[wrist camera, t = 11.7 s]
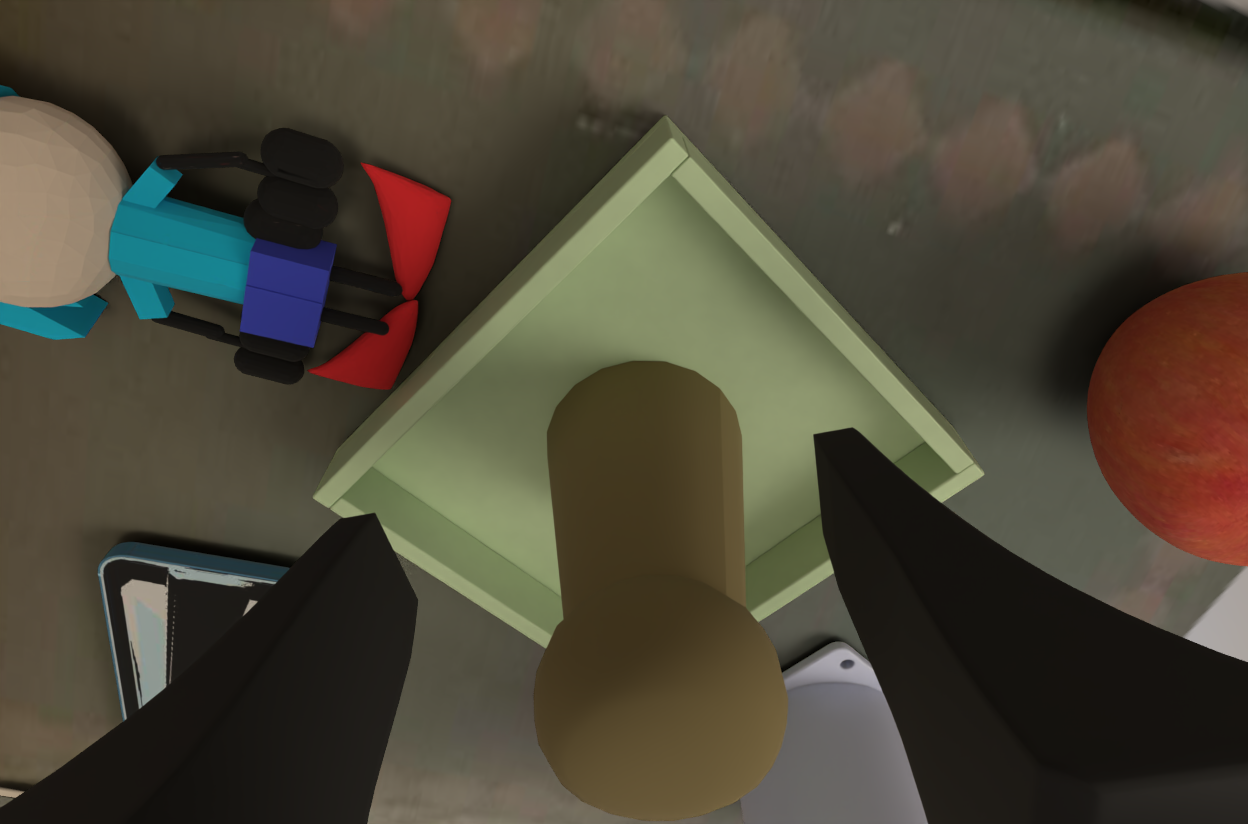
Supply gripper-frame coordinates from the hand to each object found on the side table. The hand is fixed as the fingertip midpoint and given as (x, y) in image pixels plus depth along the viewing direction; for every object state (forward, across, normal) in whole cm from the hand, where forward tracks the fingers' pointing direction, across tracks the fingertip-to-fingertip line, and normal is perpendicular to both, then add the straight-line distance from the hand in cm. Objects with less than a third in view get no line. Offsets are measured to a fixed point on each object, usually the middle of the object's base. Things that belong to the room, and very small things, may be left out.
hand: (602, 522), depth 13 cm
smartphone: (+10, +18, +14) cm, 25 cm away
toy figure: (+11, +11, -4) cm, 16 cm away
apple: (+11, -16, +6) cm, 20 cm away
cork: (+10, 0, +6) cm, 12 cm away
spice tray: (+10, 0, +6) cm, 12 cm away
